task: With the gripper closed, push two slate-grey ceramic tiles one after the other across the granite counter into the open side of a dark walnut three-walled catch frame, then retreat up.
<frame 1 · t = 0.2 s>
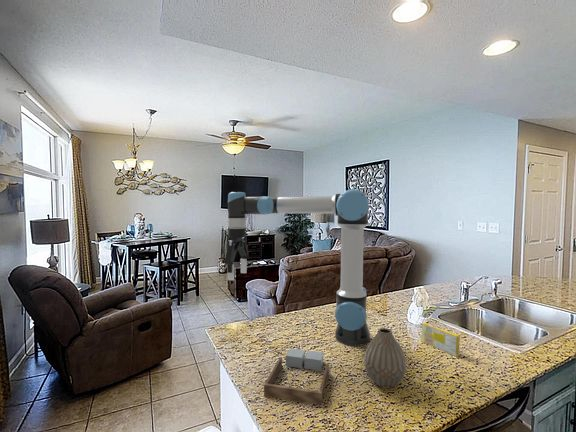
hand: (237, 276, 135), 28 cm above the worktop, fingers open, 13 cm apart
catch frame: (298, 383, 102), on the worktop
vase: (384, 383, 103), on the worktop
candy box: (439, 349, 127), on the worktop
tile a: (314, 365, 114), on the worktop
tile b: (295, 363, 115), on the worktop
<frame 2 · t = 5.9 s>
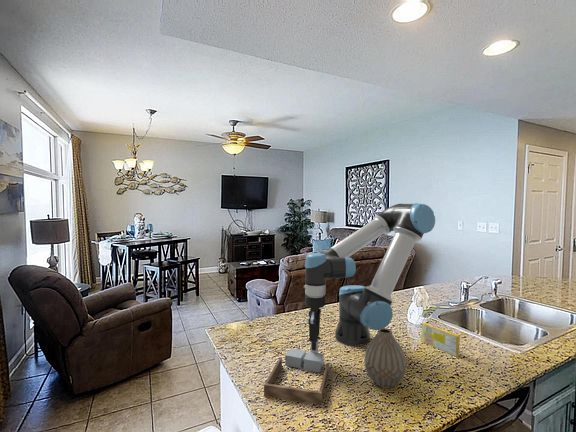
hand: (314, 357, 116), 2 cm above the worktop, fingers closed
tile a: (313, 367, 112), on the worktop, touching gripper
everything else where it was.
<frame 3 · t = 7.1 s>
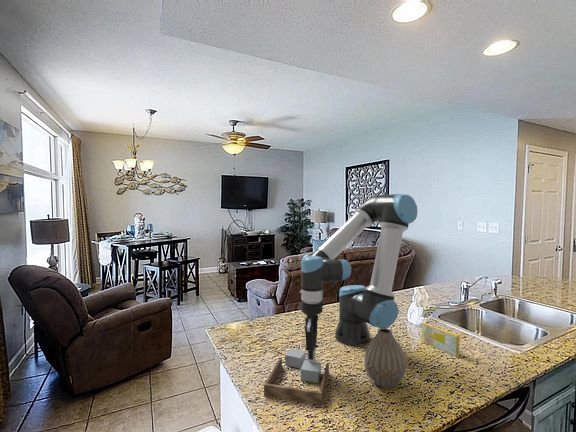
hand: (311, 366, 109), 2 cm above the worktop, fingers closed
tile a: (311, 377, 106), on the worktop
everything else where it was.
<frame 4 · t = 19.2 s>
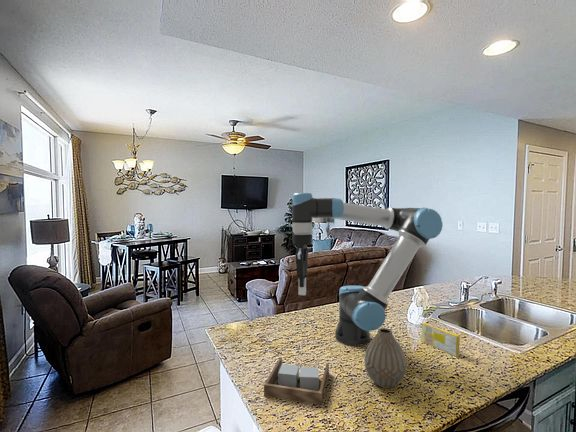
hand: (302, 294, 119), 24 cm above the worktop, fingers closed
tile a: (309, 384, 102), on the worktop
tile b: (288, 381, 104), on the worktop
everything else where it was.
at the end: tile a inside the target area on the catch frame (3.5 cm from its centre), point 0.0 cm above the catch frame's base; tile b inside the target area on the catch frame (3.7 cm from its centre), point 0.0 cm above the catch frame's base; tile a moved 11.8 cm from its start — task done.
